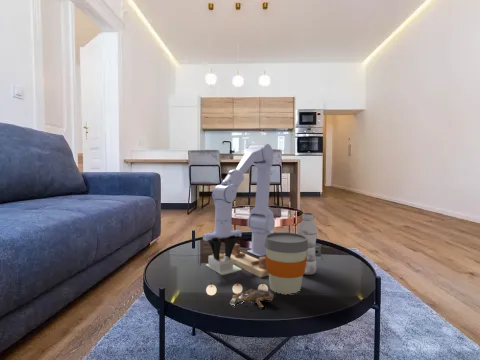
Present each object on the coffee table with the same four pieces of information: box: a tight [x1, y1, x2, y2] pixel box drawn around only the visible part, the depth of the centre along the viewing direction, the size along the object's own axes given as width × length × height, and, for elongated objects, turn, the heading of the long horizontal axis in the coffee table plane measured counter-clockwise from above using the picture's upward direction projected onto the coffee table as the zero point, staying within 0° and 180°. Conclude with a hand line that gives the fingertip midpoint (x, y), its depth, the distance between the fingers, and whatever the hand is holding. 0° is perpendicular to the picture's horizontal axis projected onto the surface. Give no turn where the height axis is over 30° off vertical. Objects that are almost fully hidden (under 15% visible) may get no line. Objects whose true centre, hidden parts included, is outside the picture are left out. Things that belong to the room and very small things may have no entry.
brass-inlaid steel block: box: [207, 252, 234, 273], centre depth 99 cm, size 5×8×4 cm, turn 35°
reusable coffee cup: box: [264, 231, 308, 295], centre depth 84 cm, size 13×13×15 cm
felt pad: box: [205, 263, 243, 276], centre depth 100 cm, size 8×11×1 cm
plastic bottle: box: [297, 212, 318, 276], centre depth 96 cm, size 6×7×20 cm
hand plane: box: [222, 242, 269, 278], centre depth 103 cm, size 7×22×6 cm, turn 36°
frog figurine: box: [229, 287, 275, 307], centre depth 76 cm, size 12×12×4 cm
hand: (222, 258), depth 100 cm, fingers open, 4 cm apart
